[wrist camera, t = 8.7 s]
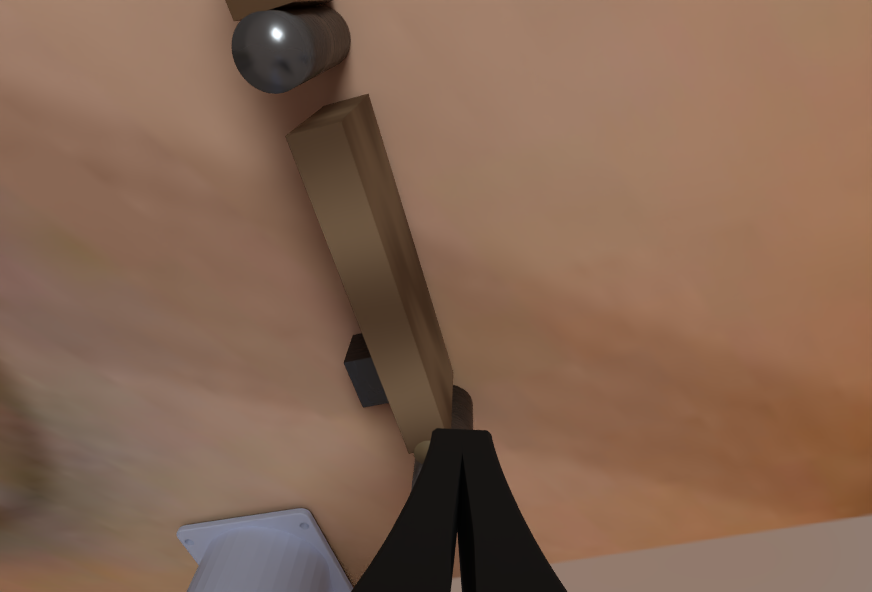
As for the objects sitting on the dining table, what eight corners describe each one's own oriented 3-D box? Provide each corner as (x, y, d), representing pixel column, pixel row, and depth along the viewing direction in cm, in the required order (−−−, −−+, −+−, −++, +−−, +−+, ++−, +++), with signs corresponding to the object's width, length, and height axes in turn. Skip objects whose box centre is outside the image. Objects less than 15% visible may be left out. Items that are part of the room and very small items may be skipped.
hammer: (477, 419, 25) (480, 530, 20) (393, 433, 26) (375, 544, 21) (300, -162, 15) (212, -244, 10) (169, -112, 16) (22, -163, 11)
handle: (456, 384, 24) (454, 462, 20) (422, 390, 24) (413, 468, 20) (368, 93, 18) (340, 122, 14) (324, 105, 18) (284, 137, 14)
